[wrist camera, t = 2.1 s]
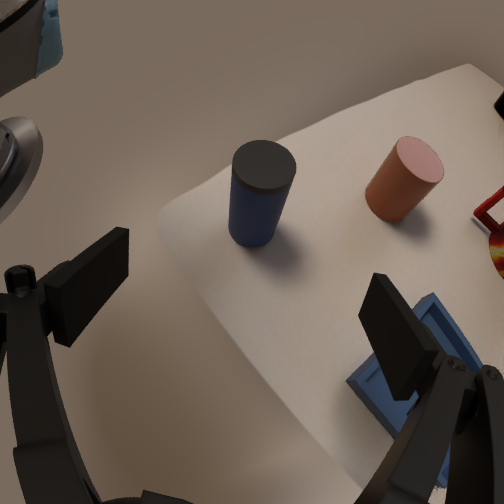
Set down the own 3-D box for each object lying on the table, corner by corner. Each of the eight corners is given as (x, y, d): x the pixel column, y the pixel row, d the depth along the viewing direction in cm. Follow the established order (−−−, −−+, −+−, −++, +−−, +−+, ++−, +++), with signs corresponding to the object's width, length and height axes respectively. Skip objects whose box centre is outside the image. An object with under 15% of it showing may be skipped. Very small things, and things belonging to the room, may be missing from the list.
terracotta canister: (366, 216, 35) (400, 173, 27) (363, 175, 38) (392, 129, 30) (409, 227, 35) (449, 189, 27) (404, 186, 38) (437, 146, 30)
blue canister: (224, 243, 32) (226, 182, 22) (233, 202, 34) (238, 135, 24) (271, 251, 32) (293, 194, 22) (277, 210, 34) (298, 146, 24)
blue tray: (345, 380, 28) (354, 380, 25) (421, 297, 32) (433, 291, 30) (433, 485, 23) (444, 489, 21) (492, 402, 27) (505, 402, 25)
